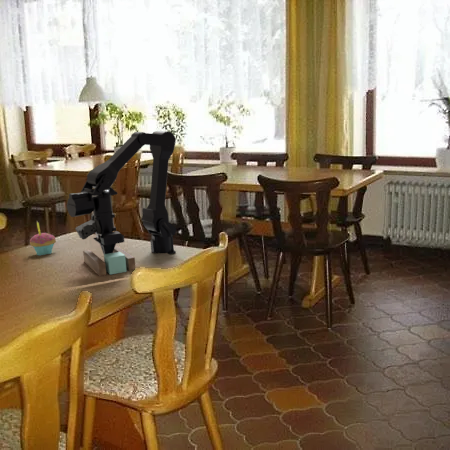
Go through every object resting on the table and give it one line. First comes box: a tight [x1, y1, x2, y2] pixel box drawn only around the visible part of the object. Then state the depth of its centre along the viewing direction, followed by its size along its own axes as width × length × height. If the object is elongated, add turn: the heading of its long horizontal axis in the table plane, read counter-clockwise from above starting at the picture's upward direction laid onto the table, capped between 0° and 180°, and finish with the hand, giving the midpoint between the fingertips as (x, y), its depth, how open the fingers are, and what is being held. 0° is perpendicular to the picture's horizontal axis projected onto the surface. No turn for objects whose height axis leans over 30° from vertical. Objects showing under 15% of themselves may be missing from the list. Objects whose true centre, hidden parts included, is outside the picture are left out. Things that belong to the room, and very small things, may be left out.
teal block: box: [103, 252, 127, 275], centre depth 193 cm, size 5×5×5 cm
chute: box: [82, 244, 137, 277], centre depth 199 cm, size 11×18×4 cm, turn 26°
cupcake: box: [29, 220, 57, 256], centre depth 219 cm, size 9×8×12 cm
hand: (107, 260), depth 200 cm, fingers closed
